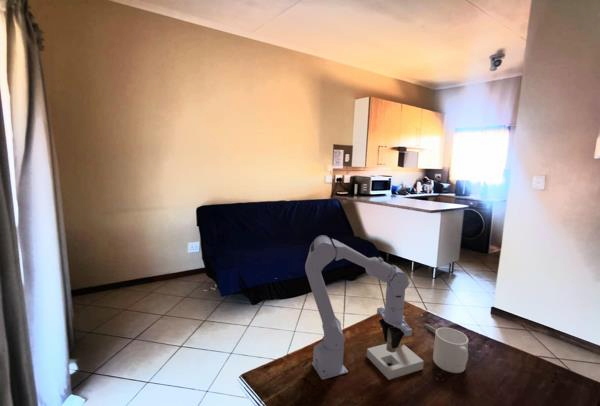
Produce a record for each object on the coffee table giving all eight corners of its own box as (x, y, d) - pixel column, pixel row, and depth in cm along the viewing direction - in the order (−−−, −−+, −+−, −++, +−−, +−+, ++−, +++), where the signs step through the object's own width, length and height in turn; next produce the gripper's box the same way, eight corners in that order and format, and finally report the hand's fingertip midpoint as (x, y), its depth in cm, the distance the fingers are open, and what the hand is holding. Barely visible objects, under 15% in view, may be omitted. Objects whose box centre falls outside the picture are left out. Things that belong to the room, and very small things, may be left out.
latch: (409, 342, 99) (407, 338, 100) (395, 345, 105) (394, 341, 106) (413, 340, 100) (412, 337, 100) (400, 344, 106) (398, 340, 107)
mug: (427, 354, 106) (429, 328, 105) (452, 353, 107) (455, 326, 106) (449, 380, 94) (452, 350, 92) (477, 378, 95) (481, 348, 94)
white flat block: (388, 379, 93) (389, 367, 93) (366, 356, 104) (367, 345, 104) (422, 369, 98) (423, 357, 98) (398, 347, 109) (399, 337, 109)
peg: (397, 351, 96) (399, 331, 95) (390, 353, 95) (391, 333, 94) (391, 345, 99) (393, 326, 98) (384, 347, 98) (385, 328, 97)
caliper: (459, 356, 106) (461, 340, 105) (456, 356, 106) (458, 340, 105) (425, 325, 126) (426, 311, 125) (422, 325, 126) (424, 311, 125)
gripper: (420, 314, 90) (417, 354, 92) (389, 293, 103) (387, 330, 105) (402, 318, 87) (399, 360, 89) (372, 296, 100) (370, 333, 102)
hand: (391, 344), depth 97 cm, fingers closed on peg, 3 cm apart
